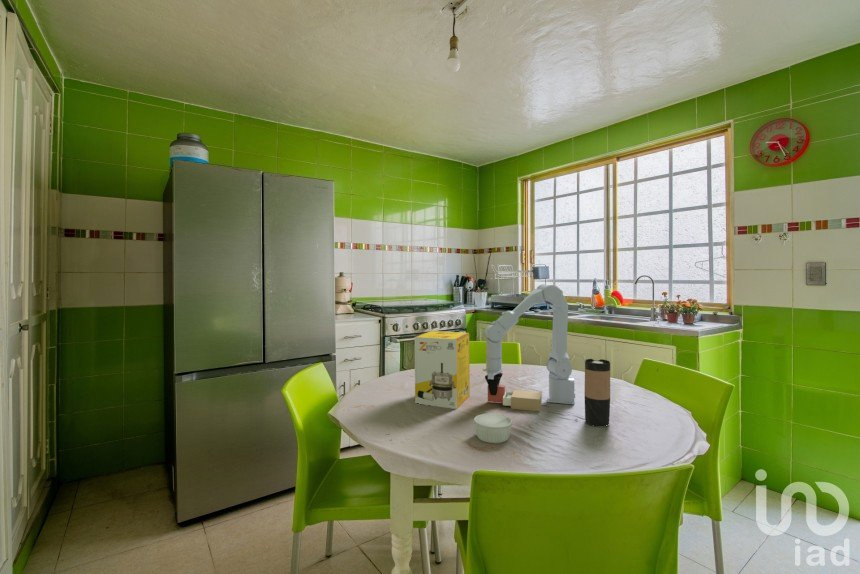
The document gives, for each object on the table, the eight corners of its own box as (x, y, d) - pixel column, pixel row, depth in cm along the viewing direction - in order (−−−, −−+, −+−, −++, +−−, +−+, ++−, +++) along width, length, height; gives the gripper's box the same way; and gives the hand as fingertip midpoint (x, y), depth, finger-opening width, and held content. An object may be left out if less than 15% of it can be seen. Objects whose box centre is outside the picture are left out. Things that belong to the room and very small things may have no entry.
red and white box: (531, 401, 150) (531, 385, 149) (529, 407, 142) (529, 391, 142) (490, 397, 154) (489, 382, 154) (486, 403, 147) (486, 387, 147)
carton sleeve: (541, 403, 149) (541, 392, 149) (540, 411, 141) (540, 399, 140) (514, 400, 152) (514, 389, 152) (511, 408, 144) (511, 396, 144)
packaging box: (415, 403, 150) (414, 337, 149) (431, 391, 165) (430, 330, 164) (456, 409, 144) (456, 339, 143) (469, 396, 159) (469, 332, 158)
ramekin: (512, 446, 113) (512, 428, 113) (472, 444, 115) (472, 425, 115) (511, 431, 124) (511, 414, 124) (475, 429, 126) (475, 412, 126)
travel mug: (598, 429, 125) (599, 364, 124) (579, 421, 131) (579, 360, 131) (615, 424, 128) (615, 362, 127) (595, 416, 135) (595, 357, 134)
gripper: (486, 353, 158) (486, 387, 158) (479, 360, 144) (479, 398, 144) (504, 354, 155) (504, 389, 156) (499, 362, 142) (499, 400, 142)
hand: (493, 393), depth 150 cm, fingers closed on red and white box, 2 cm apart
